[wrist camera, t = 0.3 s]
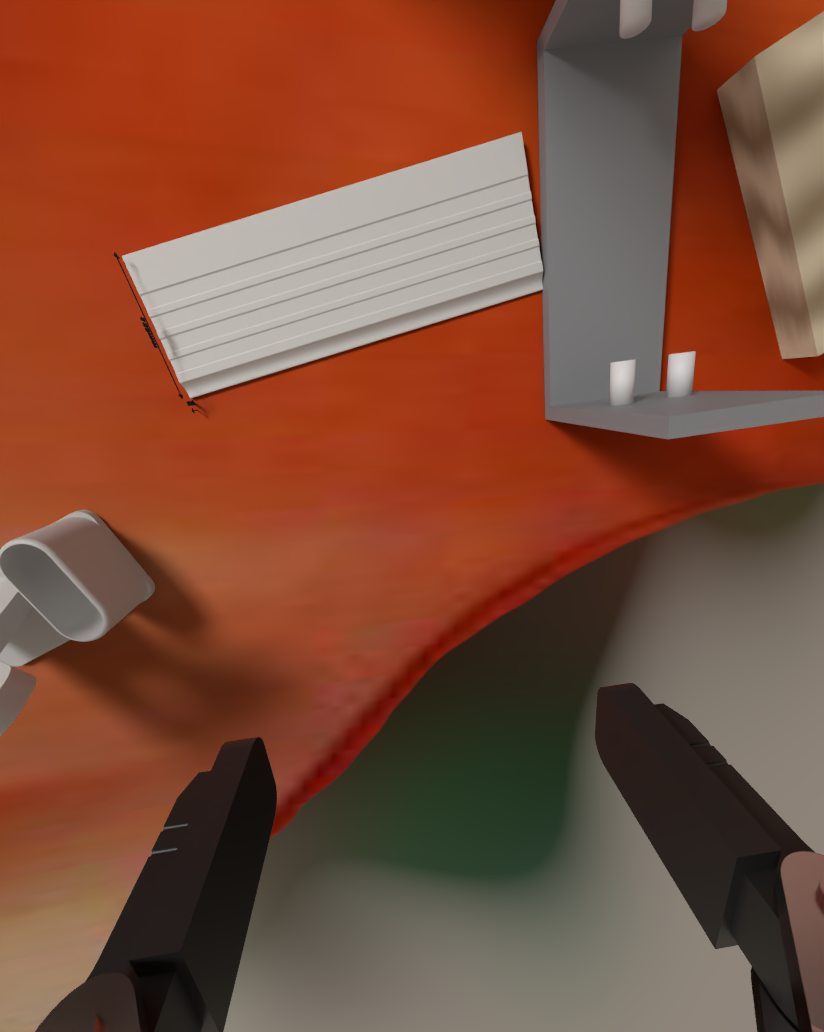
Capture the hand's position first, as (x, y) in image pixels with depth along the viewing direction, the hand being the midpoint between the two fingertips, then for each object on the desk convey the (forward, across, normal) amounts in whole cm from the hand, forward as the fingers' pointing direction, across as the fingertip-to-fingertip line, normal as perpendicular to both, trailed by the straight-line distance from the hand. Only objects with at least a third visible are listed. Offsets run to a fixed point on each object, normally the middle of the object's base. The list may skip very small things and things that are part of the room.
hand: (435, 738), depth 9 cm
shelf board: (+29, -35, -18) cm, 49 cm away
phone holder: (+29, +33, +7) cm, 44 cm away
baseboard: (+30, +2, -16) cm, 34 cm away
